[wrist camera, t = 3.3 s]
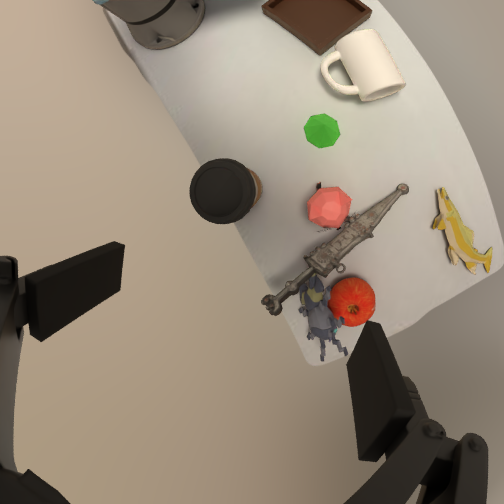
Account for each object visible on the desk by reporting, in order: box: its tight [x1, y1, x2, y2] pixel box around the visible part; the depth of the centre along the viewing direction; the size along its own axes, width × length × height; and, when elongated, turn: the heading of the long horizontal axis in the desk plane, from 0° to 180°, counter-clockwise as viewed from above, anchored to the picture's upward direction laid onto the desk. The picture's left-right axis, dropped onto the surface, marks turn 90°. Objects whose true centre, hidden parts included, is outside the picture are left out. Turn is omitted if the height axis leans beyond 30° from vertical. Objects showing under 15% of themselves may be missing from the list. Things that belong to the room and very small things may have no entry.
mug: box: [321, 29, 406, 101], centre depth 38 cm, size 12×10×8 cm
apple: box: [327, 278, 375, 327], centre depth 47 cm, size 8×8×8 cm
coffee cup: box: [190, 158, 262, 224], centre depth 43 cm, size 8×8×15 cm
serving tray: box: [261, 0, 372, 56], centre depth 39 cm, size 14×14×3 cm
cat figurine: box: [307, 182, 357, 233], centre depth 42 cm, size 7×7×12 cm
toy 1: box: [299, 273, 348, 361], centre depth 46 cm, size 15×4×15 cm
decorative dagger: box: [261, 184, 409, 316], centre depth 43 cm, size 7×2×30 cm
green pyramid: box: [304, 114, 340, 148], centre depth 43 cm, size 6×6×6 cm
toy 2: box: [433, 187, 492, 275], centre depth 43 cm, size 20×3×10 cm
